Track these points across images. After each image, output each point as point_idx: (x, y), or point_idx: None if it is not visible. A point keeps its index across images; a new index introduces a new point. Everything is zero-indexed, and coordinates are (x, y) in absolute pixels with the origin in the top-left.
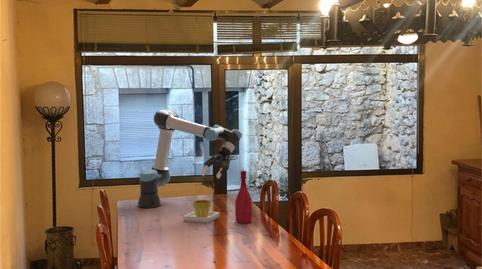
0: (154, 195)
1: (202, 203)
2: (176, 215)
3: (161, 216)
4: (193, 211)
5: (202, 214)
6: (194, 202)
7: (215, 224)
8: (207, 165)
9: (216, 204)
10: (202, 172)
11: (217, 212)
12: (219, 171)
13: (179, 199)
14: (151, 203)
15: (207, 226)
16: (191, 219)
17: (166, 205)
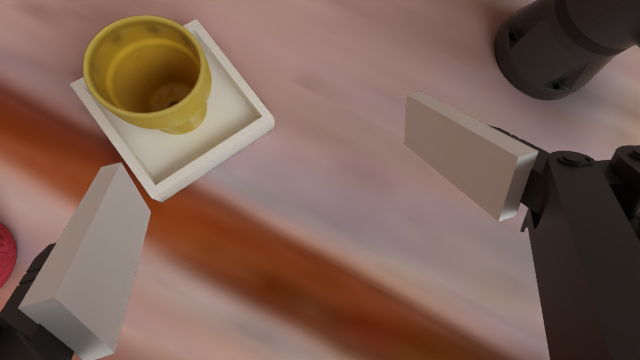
0: (550, 27)
1: (92, 39)
2: (317, 60)
3: (334, 8)
4: (255, 98)
5: (139, 85)
6: (149, 15)
7: (44, 113)
8: (548, 195)
9: (432, 332)
10: (417, 106)
11: (153, 186)
12: (75, 224)
13: None
14: (516, 37)
15: (40, 67)
16: None
17: (514, 112)
